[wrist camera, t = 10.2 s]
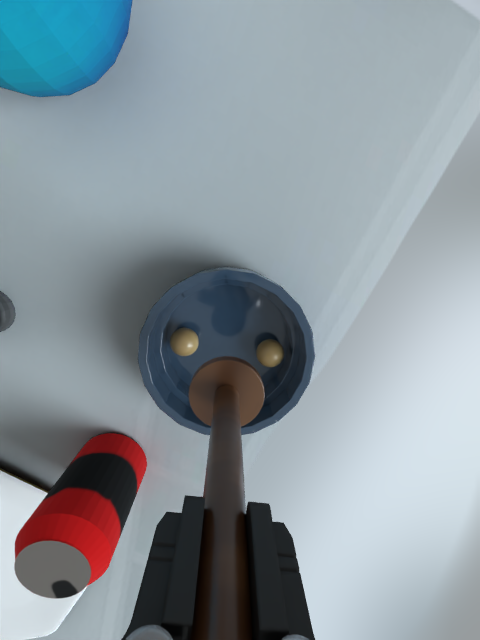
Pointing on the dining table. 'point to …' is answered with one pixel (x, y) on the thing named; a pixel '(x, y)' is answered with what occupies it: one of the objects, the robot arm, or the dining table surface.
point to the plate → (3, 585)
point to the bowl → (226, 341)
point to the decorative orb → (59, 43)
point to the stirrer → (224, 498)
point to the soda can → (80, 518)
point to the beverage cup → (6, 312)
